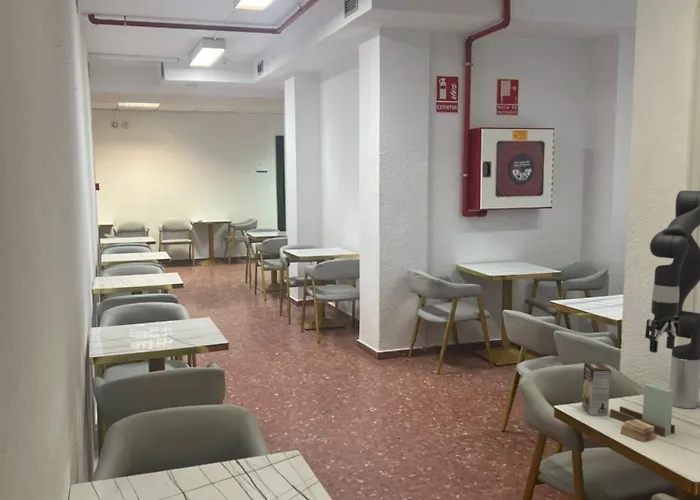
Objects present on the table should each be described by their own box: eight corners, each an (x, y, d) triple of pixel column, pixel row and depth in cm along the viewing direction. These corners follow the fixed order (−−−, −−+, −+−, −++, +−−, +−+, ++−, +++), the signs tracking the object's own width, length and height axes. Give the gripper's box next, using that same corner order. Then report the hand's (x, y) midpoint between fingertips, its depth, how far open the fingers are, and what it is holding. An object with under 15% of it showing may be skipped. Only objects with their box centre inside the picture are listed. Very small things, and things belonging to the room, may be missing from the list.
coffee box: (580, 406, 232) (583, 361, 230) (599, 406, 232) (602, 361, 230) (589, 415, 223) (592, 369, 221) (609, 416, 223) (611, 369, 221)
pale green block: (647, 425, 215) (650, 383, 214) (670, 433, 209) (673, 390, 207) (641, 426, 214) (644, 384, 212) (664, 435, 207) (667, 392, 205)
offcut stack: (632, 429, 212) (633, 417, 211) (655, 438, 205) (656, 426, 204) (619, 433, 209) (620, 421, 208) (643, 442, 202) (643, 430, 201)
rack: (620, 413, 226) (621, 406, 225) (674, 433, 209) (675, 425, 209) (609, 416, 223) (610, 409, 222) (663, 436, 206) (663, 429, 206)
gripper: (668, 295, 213) (664, 344, 215) (640, 299, 206) (636, 350, 208) (690, 299, 207) (686, 350, 209) (662, 303, 199) (658, 356, 201)
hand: (661, 350), depth 208 cm, fingers open, 8 cm apart
